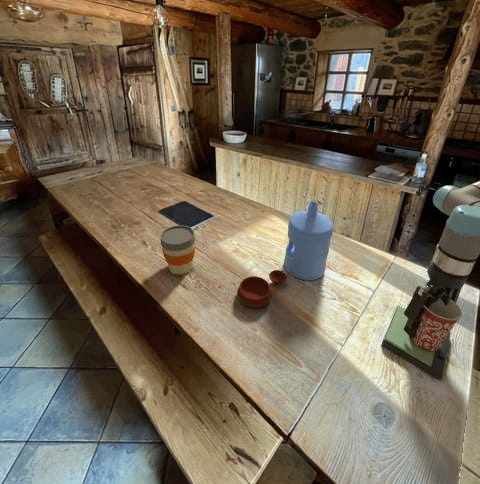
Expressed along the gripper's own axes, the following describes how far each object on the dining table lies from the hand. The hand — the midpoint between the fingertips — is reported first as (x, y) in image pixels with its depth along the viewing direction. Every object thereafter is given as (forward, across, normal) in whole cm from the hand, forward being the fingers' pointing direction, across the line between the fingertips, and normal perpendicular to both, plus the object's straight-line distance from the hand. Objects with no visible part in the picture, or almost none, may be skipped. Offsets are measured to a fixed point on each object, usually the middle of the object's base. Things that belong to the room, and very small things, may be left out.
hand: (420, 329), depth 74 cm
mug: (+2, -1, 0) cm, 2 cm away
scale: (+5, 0, 0) cm, 5 cm away
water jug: (+5, +15, -37) cm, 40 cm away
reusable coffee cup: (+5, +61, -51) cm, 80 cm away
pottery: (+5, +35, -30) cm, 46 cm away
